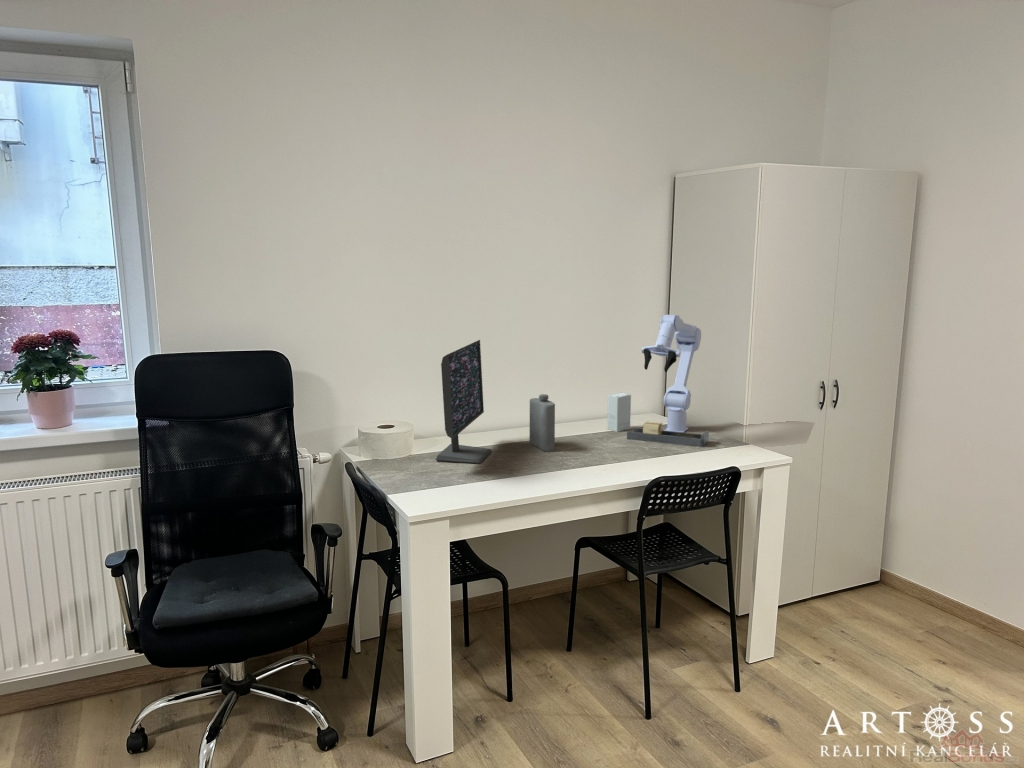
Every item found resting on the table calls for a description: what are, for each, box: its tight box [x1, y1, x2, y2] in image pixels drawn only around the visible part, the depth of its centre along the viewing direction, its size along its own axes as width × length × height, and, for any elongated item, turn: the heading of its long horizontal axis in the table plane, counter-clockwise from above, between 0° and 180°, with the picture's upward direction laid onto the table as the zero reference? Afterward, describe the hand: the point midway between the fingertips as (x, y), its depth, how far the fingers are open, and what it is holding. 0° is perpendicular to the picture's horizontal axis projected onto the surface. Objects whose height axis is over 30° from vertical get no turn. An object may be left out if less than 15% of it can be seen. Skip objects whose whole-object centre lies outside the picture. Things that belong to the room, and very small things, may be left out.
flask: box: [529, 393, 556, 452], centre depth 288 cm, size 15×6×20 cm, turn 24°
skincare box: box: [606, 392, 632, 433], centre depth 317 cm, size 8×6×15 cm
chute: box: [626, 427, 710, 448], centre depth 299 cm, size 9×30×4 cm, turn 64°
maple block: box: [642, 421, 663, 435], centre depth 302 cm, size 6×6×5 cm
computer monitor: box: [435, 339, 492, 464], centre depth 273 cm, size 44×16×40 cm, turn 168°
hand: (655, 369), depth 287 cm, fingers open, 7 cm apart
